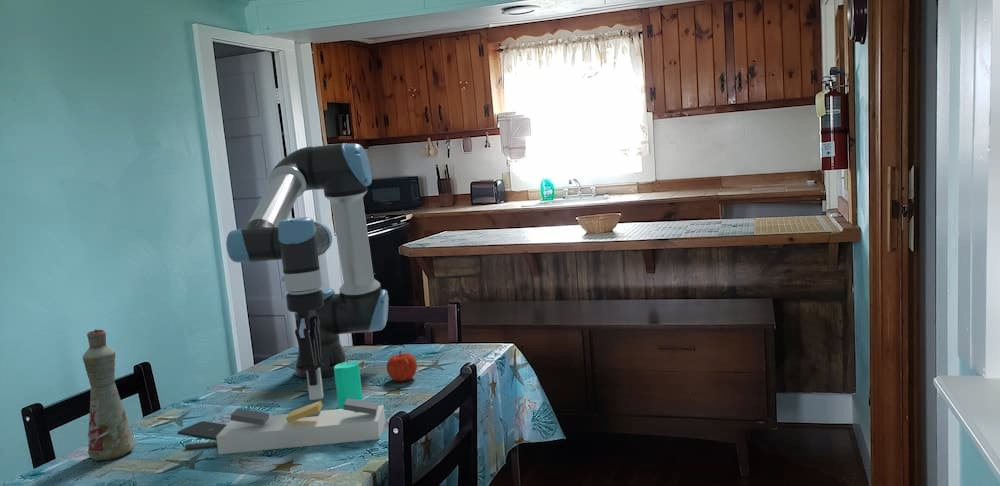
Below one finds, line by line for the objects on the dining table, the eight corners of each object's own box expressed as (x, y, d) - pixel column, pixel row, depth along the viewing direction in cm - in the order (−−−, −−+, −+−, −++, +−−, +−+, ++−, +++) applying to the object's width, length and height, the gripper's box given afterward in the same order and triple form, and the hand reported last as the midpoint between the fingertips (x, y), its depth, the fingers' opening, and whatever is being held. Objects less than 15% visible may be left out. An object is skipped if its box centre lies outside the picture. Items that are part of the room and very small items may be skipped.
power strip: (194, 440, 160) (191, 422, 160) (385, 421, 162) (383, 404, 161) (175, 458, 150) (172, 439, 150) (379, 439, 152) (377, 420, 151)
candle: (357, 410, 171) (352, 362, 169) (334, 411, 172) (328, 362, 171) (367, 402, 177) (361, 354, 175) (344, 402, 178) (339, 355, 176)
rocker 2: (292, 416, 157) (290, 411, 156) (322, 405, 157) (320, 400, 156) (288, 423, 153) (286, 418, 152) (318, 411, 153) (316, 406, 152)
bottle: (131, 457, 153) (112, 330, 150) (84, 466, 151) (63, 336, 147) (139, 443, 161) (121, 322, 158) (95, 451, 159) (75, 328, 156)
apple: (423, 379, 191) (420, 350, 190) (396, 386, 187) (393, 357, 186) (409, 373, 198) (406, 345, 197) (383, 380, 193) (380, 351, 193)
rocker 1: (236, 413, 156) (237, 408, 156) (268, 418, 156) (269, 413, 156) (230, 420, 152) (231, 414, 152) (263, 425, 152) (264, 420, 152)
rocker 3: (346, 403, 157) (347, 398, 157) (378, 408, 157) (378, 403, 157) (343, 409, 153) (344, 404, 153) (375, 414, 153) (376, 409, 153)
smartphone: (202, 419, 172) (245, 426, 165) (202, 423, 172) (246, 430, 165) (175, 431, 166) (219, 438, 159) (175, 434, 166) (220, 442, 159)
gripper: (293, 287, 158) (306, 390, 161) (277, 298, 145) (291, 410, 148) (327, 284, 158) (339, 387, 161) (315, 294, 145) (328, 406, 148)
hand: (316, 397), depth 154 cm, fingers closed
